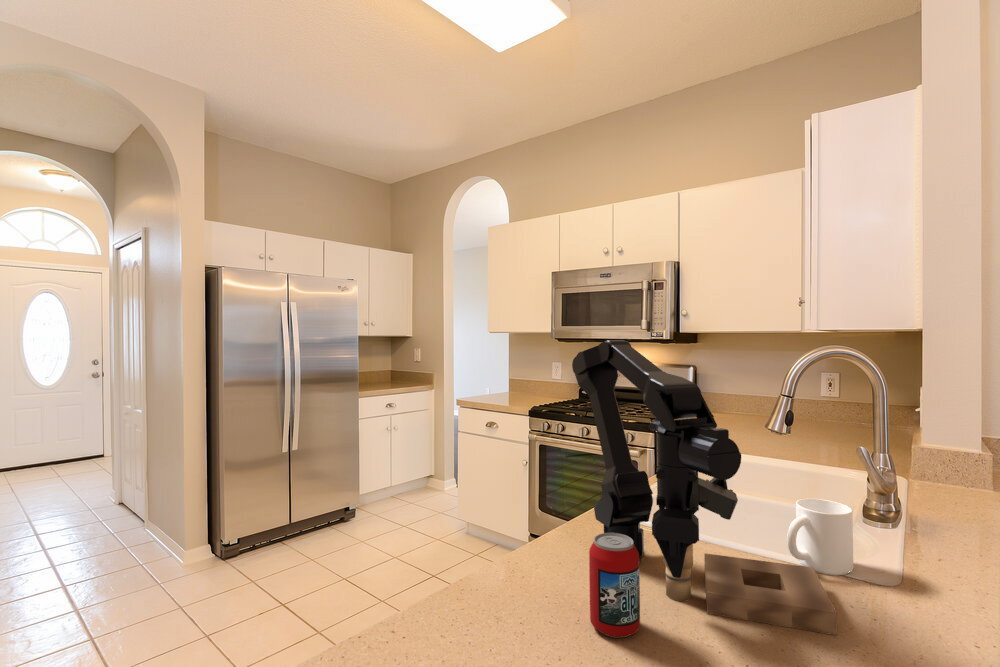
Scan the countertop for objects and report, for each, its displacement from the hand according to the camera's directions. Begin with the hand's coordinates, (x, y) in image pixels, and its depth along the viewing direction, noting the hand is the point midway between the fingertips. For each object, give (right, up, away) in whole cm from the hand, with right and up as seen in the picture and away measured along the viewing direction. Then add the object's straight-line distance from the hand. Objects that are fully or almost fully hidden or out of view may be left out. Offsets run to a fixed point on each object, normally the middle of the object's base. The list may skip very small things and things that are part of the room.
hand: (677, 563), depth 78 cm
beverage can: (-12, -5, -8) cm, 15 cm away
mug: (+27, -5, +9) cm, 29 cm away
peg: (0, -5, 0) cm, 5 cm away
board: (+12, -5, -2) cm, 13 cm away
